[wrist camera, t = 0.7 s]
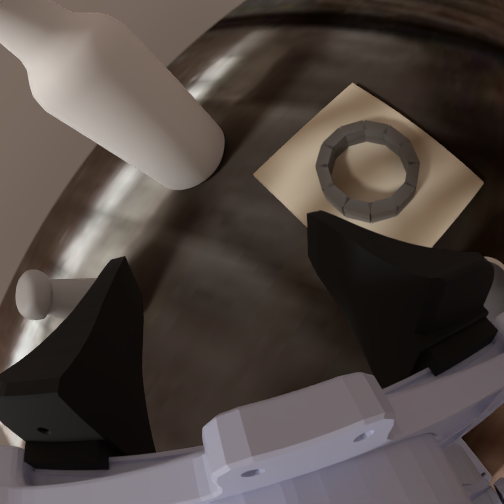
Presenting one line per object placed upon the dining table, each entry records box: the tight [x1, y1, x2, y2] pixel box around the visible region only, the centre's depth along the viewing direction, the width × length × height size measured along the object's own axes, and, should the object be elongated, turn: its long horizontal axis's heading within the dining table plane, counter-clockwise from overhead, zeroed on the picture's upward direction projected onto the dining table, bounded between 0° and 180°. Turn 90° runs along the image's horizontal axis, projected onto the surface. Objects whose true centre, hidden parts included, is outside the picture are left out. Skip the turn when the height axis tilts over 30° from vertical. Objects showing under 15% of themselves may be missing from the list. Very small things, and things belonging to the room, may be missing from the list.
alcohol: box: [0, 0, 225, 190], centre depth 20 cm, size 9×9×30 cm
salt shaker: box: [16, 270, 97, 320], centre depth 27 cm, size 6×6×13 cm
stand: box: [253, 83, 484, 248], centre depth 25 cm, size 16×14×3 cm
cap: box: [484, 257, 504, 322], centre depth 18 cm, size 5×5×6 cm
